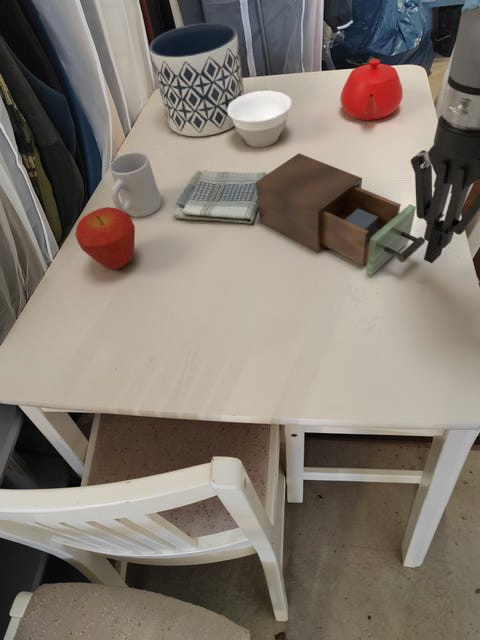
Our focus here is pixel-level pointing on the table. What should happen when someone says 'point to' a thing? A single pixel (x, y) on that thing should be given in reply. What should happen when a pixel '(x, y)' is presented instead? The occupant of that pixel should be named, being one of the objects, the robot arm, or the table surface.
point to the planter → (198, 76)
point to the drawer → (354, 239)
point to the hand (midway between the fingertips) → (432, 257)
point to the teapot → (372, 91)
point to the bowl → (260, 116)
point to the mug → (134, 185)
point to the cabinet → (301, 197)
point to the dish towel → (220, 197)
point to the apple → (107, 236)
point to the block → (364, 221)
